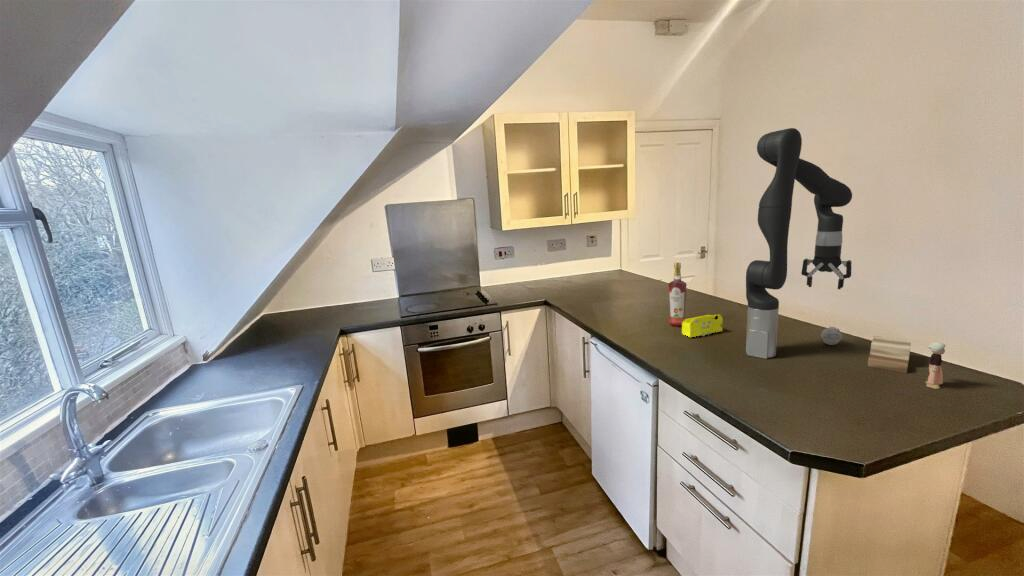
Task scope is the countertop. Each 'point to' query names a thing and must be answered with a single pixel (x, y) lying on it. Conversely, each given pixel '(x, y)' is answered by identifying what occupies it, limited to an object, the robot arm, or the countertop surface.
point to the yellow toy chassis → (702, 325)
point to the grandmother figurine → (935, 365)
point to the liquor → (677, 298)
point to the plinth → (889, 354)
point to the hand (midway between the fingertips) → (824, 287)
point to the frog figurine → (831, 335)
